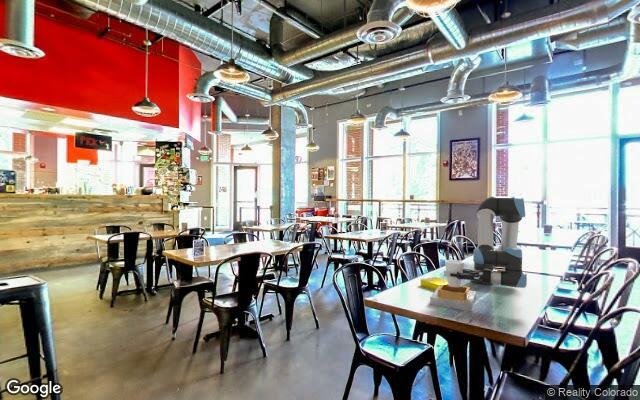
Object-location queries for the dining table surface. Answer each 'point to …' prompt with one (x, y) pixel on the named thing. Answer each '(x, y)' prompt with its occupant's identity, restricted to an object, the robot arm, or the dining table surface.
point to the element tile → (433, 283)
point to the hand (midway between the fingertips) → (445, 271)
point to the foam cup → (454, 267)
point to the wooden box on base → (453, 297)
